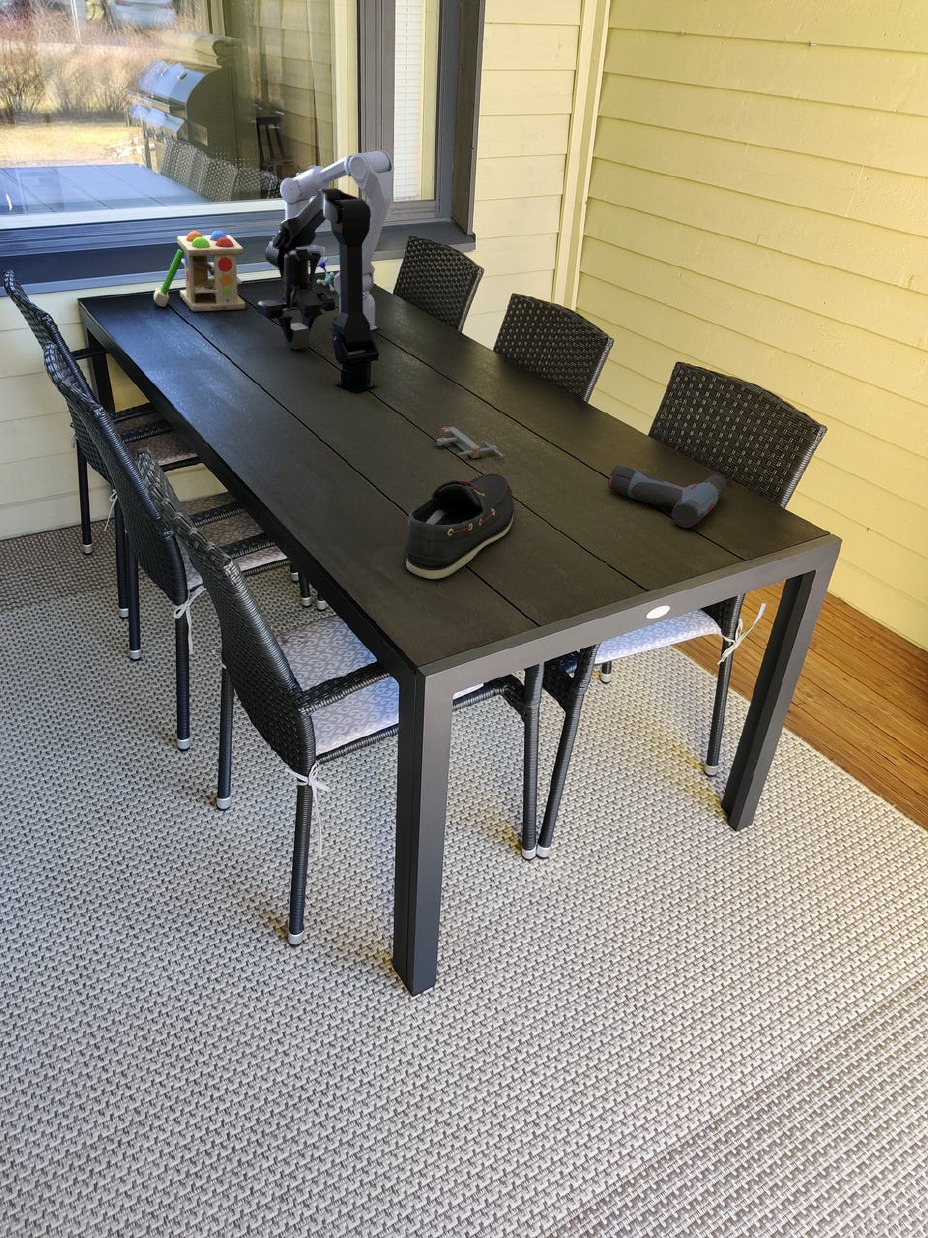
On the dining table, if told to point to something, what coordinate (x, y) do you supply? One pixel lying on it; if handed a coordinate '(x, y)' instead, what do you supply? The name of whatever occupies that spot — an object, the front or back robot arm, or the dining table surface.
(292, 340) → the metal block
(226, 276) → the pounding bench toy
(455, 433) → the clamp
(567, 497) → the dining table surface
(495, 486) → the boat shoe
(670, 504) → the power drill
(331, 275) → the molecular model
